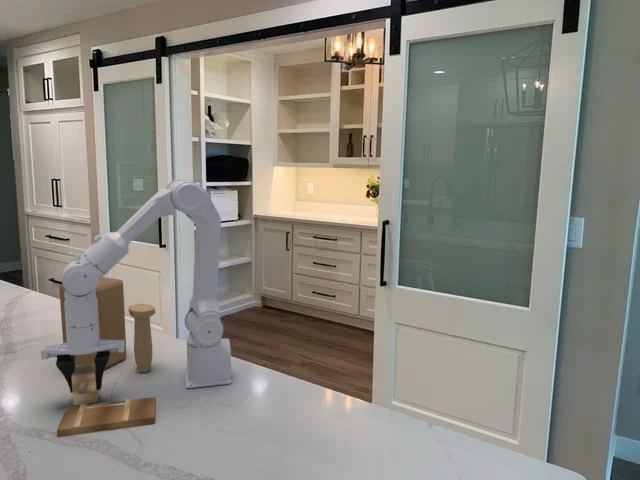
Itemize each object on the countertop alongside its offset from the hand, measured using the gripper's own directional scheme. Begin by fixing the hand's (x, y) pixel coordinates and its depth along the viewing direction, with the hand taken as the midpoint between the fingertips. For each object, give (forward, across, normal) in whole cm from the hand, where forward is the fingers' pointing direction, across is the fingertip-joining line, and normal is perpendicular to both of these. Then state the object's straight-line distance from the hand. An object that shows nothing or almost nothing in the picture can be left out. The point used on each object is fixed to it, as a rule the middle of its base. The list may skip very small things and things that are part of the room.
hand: (86, 388), depth 93 cm
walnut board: (+3, -5, +8) cm, 9 cm away
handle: (+3, -10, -12) cm, 16 cm away
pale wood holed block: (+2, 0, +1) cm, 2 cm away
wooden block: (+3, +1, -20) cm, 20 cm away
